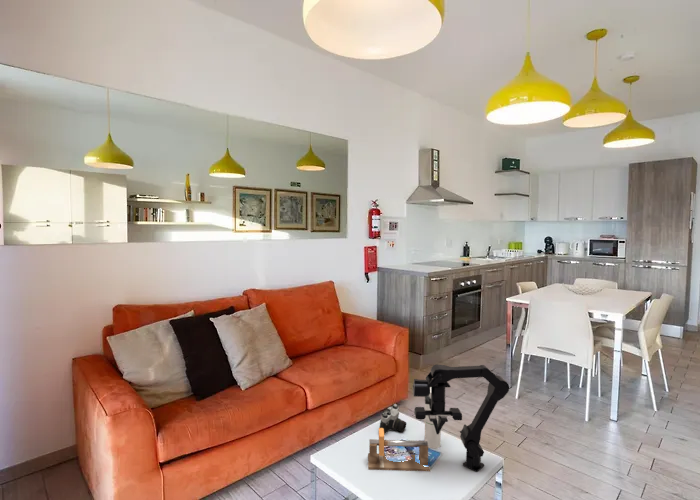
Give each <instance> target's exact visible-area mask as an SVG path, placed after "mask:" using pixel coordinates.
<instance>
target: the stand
mask: <svg viewBox="0 0 700 500" xmlns="http://www.w3.org/2000/svg"><path fill="white" fill-rule="evenodd" d="M370 440H378V439H375V438H374V439H370V438H369V439H368V441H369V444H368V445H369V450H368V451H369V453H367V461H368V462H367V464H368V465H367V467H368V468H367V470H370V471H371V470H372V471H374V470H375V471H398V472H399V471H400V472H401V471H404V472H408V471H409V472H431V467H430V465H429V467H424V466H423V465H428V462H429V447H428V446H427V445H420V447H418V451H419V452H418V455H419V460H420V464H419V463H417V462H415V455H416V454H411V456H412V458H413V459H411V460H408V461H404V462H402V461H401V462H393V461H389V460H387V459H386V457H385V454H386V453H384V456H379V453H378V446H377V444H370Z"/></svg>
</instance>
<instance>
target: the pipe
mask: <svg viewBox="0 0 700 500" xmlns="http://www.w3.org/2000/svg"><path fill="white" fill-rule="evenodd" d="M370 444H377V447H379V439H377V440H370ZM420 445H427V446H428V442H427V441H425V440H405V439H404V440H399V439H397V440H396V439H384V447H409V448H410V447H411V448H412V447H417V448H419V447H420Z"/></svg>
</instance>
